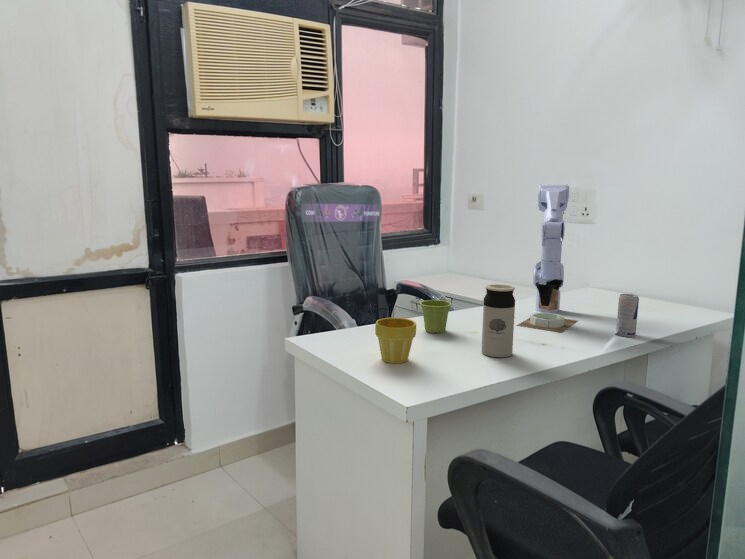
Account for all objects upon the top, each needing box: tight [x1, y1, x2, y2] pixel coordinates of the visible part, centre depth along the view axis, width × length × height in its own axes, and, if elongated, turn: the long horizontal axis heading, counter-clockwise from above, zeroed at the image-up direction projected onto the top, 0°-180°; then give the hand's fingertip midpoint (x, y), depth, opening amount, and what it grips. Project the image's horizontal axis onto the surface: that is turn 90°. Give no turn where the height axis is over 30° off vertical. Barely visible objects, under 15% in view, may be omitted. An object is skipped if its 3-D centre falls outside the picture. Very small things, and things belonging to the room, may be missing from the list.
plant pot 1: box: [374, 317, 417, 364], centre depth 139 cm, size 10×10×10 cm
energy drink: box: [615, 293, 640, 338], centre depth 163 cm, size 5×5×12 cm
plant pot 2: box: [419, 299, 452, 334], centre depth 166 cm, size 9×9×9 cm
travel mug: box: [481, 283, 516, 358], centre depth 144 cm, size 8×8×18 cm
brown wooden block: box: [539, 289, 560, 311], centre depth 171 cm, size 4×4×6 cm
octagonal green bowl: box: [529, 312, 566, 328], centre depth 172 cm, size 10×10×2 cm
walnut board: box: [515, 317, 579, 334], centre depth 173 cm, size 18×14×1 cm
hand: (548, 304), depth 171 cm, fingers closed on brown wooden block, 5 cm apart
